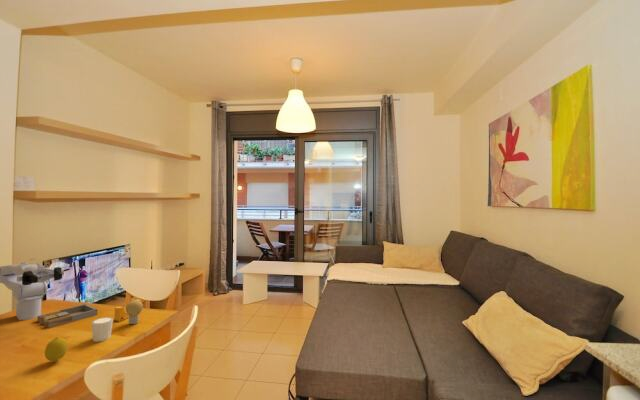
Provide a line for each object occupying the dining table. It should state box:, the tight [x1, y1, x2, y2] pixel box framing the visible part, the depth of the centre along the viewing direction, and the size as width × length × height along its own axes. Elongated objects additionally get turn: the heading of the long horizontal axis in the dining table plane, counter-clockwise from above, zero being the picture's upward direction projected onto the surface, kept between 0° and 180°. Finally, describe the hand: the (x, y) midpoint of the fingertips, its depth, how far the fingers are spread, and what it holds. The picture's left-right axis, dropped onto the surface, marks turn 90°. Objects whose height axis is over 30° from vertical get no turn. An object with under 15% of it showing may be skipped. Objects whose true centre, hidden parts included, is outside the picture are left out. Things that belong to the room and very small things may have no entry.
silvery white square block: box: [55, 312, 69, 318], centre depth 125 cm, size 4×4×2 cm
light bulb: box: [125, 299, 144, 325], centre depth 126 cm, size 6×6×10 cm
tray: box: [59, 303, 98, 322], centre depth 131 cm, size 12×10×2 cm
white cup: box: [91, 316, 114, 343], centre depth 112 cm, size 7×7×7 cm
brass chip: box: [43, 315, 58, 324], centre depth 122 cm, size 4×4×2 cm
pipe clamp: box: [113, 299, 143, 323], centre depth 133 cm, size 12×4×6 cm, turn 169°
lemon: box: [44, 337, 68, 363], centre depth 95 cm, size 6×6×8 cm
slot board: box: [36, 310, 96, 329], centre depth 127 cm, size 12×17×3 cm
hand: (49, 278), depth 118 cm, fingers open, 7 cm apart
